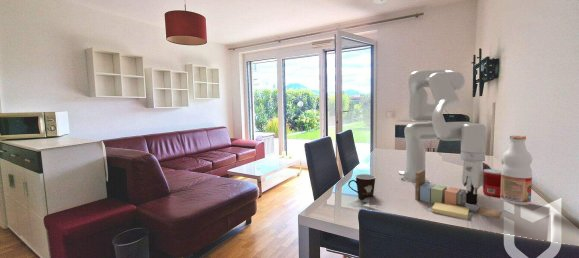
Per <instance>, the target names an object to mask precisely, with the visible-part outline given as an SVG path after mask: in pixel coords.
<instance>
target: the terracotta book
mask: <svg viewBox="0 0 579 258" xmlns="http://www.w3.org/2000/svg"><path fill="white" fill-rule="evenodd" d="M461 190H462V188H457V187H451V186H449V187H448V188H447V190H445V204H449V205H455V206H457V194H458V193H459V192H460V191H461Z"/></svg>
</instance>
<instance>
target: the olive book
mask: <svg viewBox="0 0 579 258" xmlns="http://www.w3.org/2000/svg"><path fill="white" fill-rule="evenodd" d="M447 187H448V186H445V185H440V184H435V186H433V187H432V188H431V203H430V204H432V203H435V202H438V203H444V202H445V190H447V189H448V188H447Z"/></svg>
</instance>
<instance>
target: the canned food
mask: <svg viewBox="0 0 579 258" xmlns="http://www.w3.org/2000/svg"><path fill="white" fill-rule="evenodd" d="M501 170H502V169H495V168H491V169H485V170H484V171H483V184H482V193H483V194H484V195H485V196H488V197H492V198H500V194H501Z"/></svg>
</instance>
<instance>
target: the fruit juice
mask: <svg viewBox="0 0 579 258" xmlns="http://www.w3.org/2000/svg"><path fill="white" fill-rule="evenodd" d="M509 140H510V142H509V145H508V148H507V150H505V151H504V152H503V153H502V157H501V158H502V163H503V164H502V167H501V169H500V170H501V194H500V197H499V198H500V200H502V201H503V202H506V203H509V204H514V205H521V206H522V205H523V206H526V205H531V204H532V187H533V186H532V185H533V184H532V181H533V170H532V167H531V165H532V162H533V156H532V154H531V153H530V152H529V151H528V149H527V146H526V141H527V137H526V136H525V135H510V136H509Z"/></svg>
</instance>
